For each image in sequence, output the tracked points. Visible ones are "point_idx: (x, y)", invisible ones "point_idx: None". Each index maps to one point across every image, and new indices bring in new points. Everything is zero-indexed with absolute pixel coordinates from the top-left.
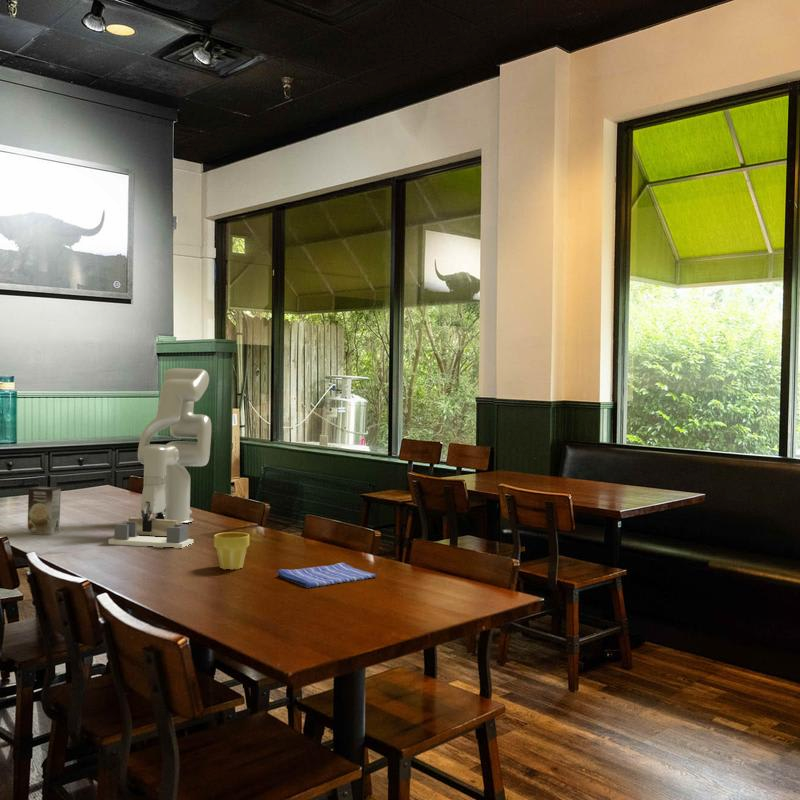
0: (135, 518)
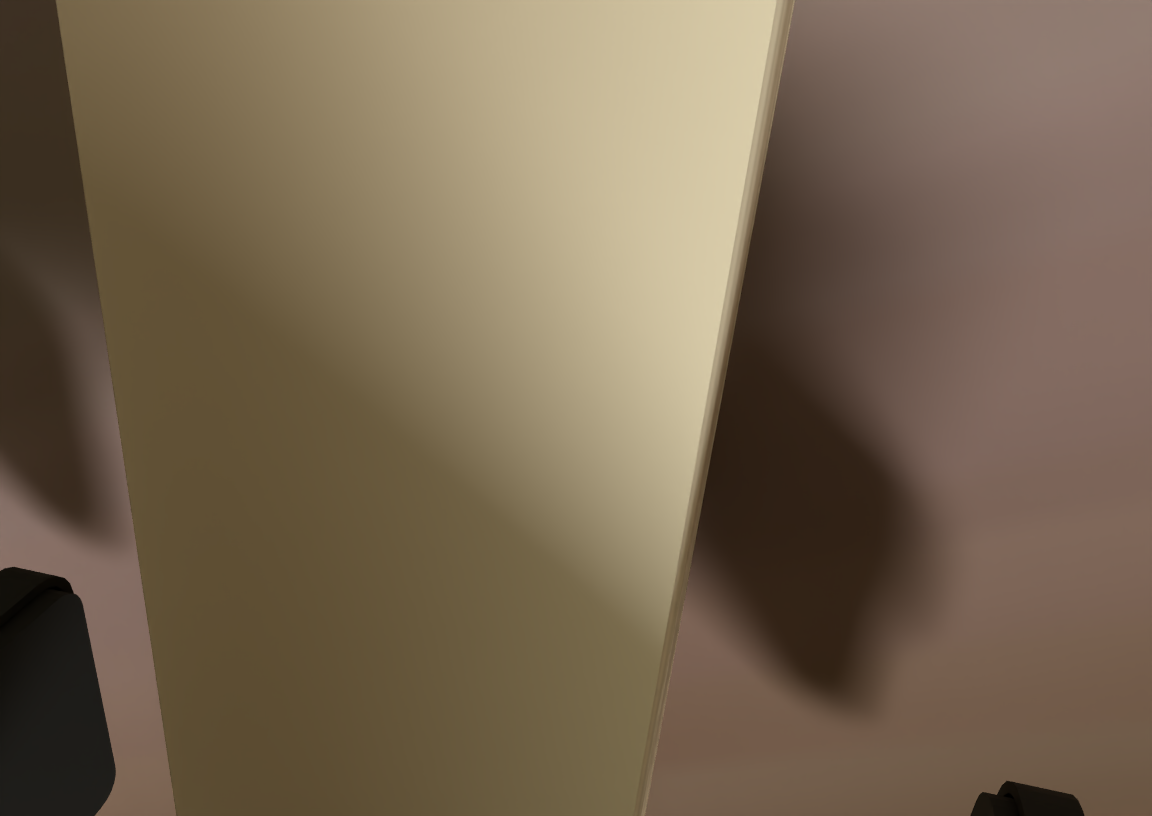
0: (272, 190)
